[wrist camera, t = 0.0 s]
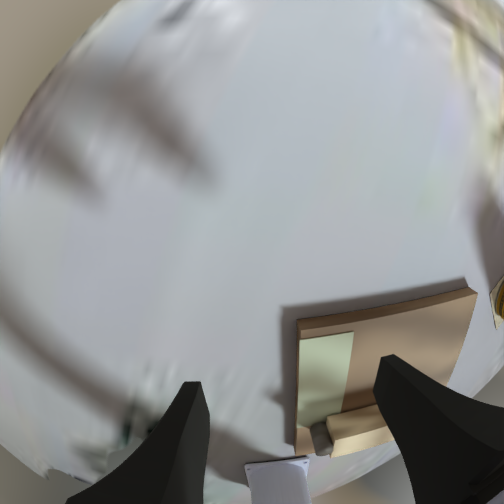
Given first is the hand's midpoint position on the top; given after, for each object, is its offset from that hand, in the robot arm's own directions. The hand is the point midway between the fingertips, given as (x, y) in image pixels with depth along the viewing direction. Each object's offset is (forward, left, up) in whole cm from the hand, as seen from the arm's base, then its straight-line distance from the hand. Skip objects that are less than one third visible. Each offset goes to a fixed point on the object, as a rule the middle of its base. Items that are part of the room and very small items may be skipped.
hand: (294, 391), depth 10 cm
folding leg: (-15, -9, -8) cm, 19 cm away
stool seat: (-12, -11, -10) cm, 19 cm away
